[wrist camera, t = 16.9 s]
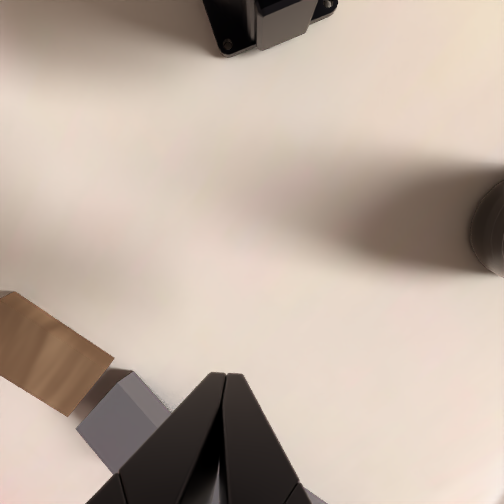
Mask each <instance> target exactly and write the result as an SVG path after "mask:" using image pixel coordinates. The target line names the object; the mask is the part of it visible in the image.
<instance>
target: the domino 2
mask: <svg viewBox="0 0 504 504" xmlns="http://www.w3.org/2000/svg"><path fill="white" fill-rule="evenodd" d="M170 414H171V413H170V412H169V410H168V409H167V408H166V407H165V406H164V405H163V404H162V403H161V401H160V400H159V399H158V398H157V397H156V396H155V395H154V394H153V392H152V391H151V390H150V389H149V388H148V387H147V386H146V385H145V384H144V382H143V381H142V380H141V379H140V378H139V377H138V376H137V375H136V373H135V372H134V371H133V372H132V373H130V374H129V375H127V376H126V377H125V378H123V379H122V380H120V381H119V382H117V383H116V385H115V386H114V387H113V388H112V389H111V390H110V391H109V392H108V393H107V395H106V396H105V397H104V398H103V399H102V400H101V401H100V402H99V403H98V405H97V406H96V407H95V408H94V409H93V410H92V411H91V412H90V413H89V415H88V416H87V417H86V418H85V419H84V420H83V421H82V422H81V423H80V424H79V426H78V427H77V428H76V430H77V431H78V432H79V434H80V435H81V436H82V437H83V438H84V440H85V441H86V442H87V443H88V445H89V446H90V447H91V448H92V449H93V451H94V452H95V453H96V454H97V455H98V457H99V458H100V459H101V460H102V461H103V463H104V464H105V465H106V466H107V467H108V469H109V470H110V471H111V472H112V474H113V475H114V474H115V473H118V470H119V469H120V468H121V467H122V465H123V464H124V463H125V462H126V461H127V460H128V459H129V458H130V457H131V456H132V455H133V454H134V453H135V452H136V451H137V450H138V448H139V447H140V446H141V445H142V444H143V443H144V442H145V441H146V440H147V439H148V438H149V437H150V436H151V435H152V434H153V433H154V431H155V430H156V429H157V428H158V427H159V426H160V425H161V424H162V423H163V422H164V421H165V420H166V419H167V418H168V417H169V416H170Z"/></svg>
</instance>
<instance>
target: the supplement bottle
mask: <svg viewBox="0 0 504 504" xmlns="http://www.w3.org/2000/svg"><path fill="white" fill-rule="evenodd" d="M470 236H471V244H472V248H473V250H474V253H475V255H476V257H477V258H478V260H479V261H480V262H481V263H482V264H483V265H484V266H485V267H486V268H487V269H488V270H490V271H491V272H493V273H495V274H497V275H499V276H501V277H503V278H504V180H503V181H501V182H500V183H498V184H497V185H496V186H495V187H494V188H492V189H491V190H490V191H489V192H488V193H487V195H486V196H485V197H484V198H483V200H482V201H481V202H480V204H479V206H478V208H477V210H476V212H475V214H474V217H473V220H472V224H471V232H470Z"/></svg>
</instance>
